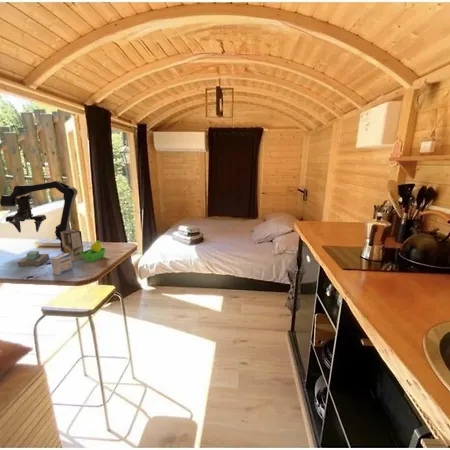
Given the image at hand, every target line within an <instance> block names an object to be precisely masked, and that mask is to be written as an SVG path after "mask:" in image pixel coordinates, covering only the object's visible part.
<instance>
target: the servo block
mask: <svg viewBox="0 0 450 450" xmlns="http://www.w3.org/2000/svg"><path fill="white" fill-rule="evenodd" d="M40 254H41V253H40V251H39V250H30V251H29V252H27V253H26V256H27V259H26V260H34V259H38V258H39V257H40Z"/></svg>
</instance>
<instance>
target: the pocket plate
mask: <svg viewBox="0 0 450 450" xmlns="http://www.w3.org/2000/svg"><path fill="white" fill-rule="evenodd" d="M39 254H40V257H39V258H38V259H34V260H26V259H27V255H26V256H24V257H23V258H21V259H19V260H18V261H17V266H18V267H31V266H41V265H42V264H44V263H45V262H46V261H47V260H49V259H50V254H49V253H39Z"/></svg>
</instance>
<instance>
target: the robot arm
mask: <svg viewBox="0 0 450 450" xmlns="http://www.w3.org/2000/svg"><path fill="white" fill-rule="evenodd" d="M50 189H56V190H57V191H59V193H61V194H63V201H64V202H63V209H62V214H61V219H60V224H58V225H56V226H55V231H54V234H55V236H56V238H57V239H58V240H59V241H60V242H59V245H60V251H62V252H63V245H62V239H61V232H62V231H66V230H70V229H71V228H70V224H69V223H70V218H71V214H72V209H73V203H74V201H75V200H76V198H77V195H78V189H77V188H75V187H74V186H69V185H68V184H66V183H63V182H61V181H59V180H53V181H49V182H43V183H38V184H19V185H15V186H14V187H13V191H12V192H11V194H10V195H8V194H7V195H6V194H2V195H1V197H0V206H1V207H3V208H13V207H14V208H15V207H17V209H16V213H15V214H12V215H8V216H6V217H5V223H9V224H11V225H13V226H14V227H15V229H16V230H17V232H18V233H22V228H21V222H22V223H23V222H25V221H27V220H33V221H34V224H35V231H36V233H38V232H39V230H40V227H41V224H42V223H43V222H44V221H45V220H47V216H46V215H45V214H37V215H35V216H34V214H33V213H32V209H33V207H32V206H31V201H30V200H32V199H34V196H33V195H31V193H33V192H34V193H35V192H38V191H39V192H40V191H43V190H50Z"/></svg>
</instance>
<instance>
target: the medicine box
mask: <svg viewBox="0 0 450 450" xmlns="http://www.w3.org/2000/svg"><path fill="white" fill-rule="evenodd" d="M50 264H51V270H52V272H51V273H52V275H54V274H55V275H56V276H62V275H64V274H66V273H67V271H68V272H69V270H70V271H71V269H72V270H73V263H72V260H71V255H70V254H68V253H64V252H63V253H60V254H58V255H56V256H54V257H51V258H50ZM65 272H66V273H65ZM63 273H64V274H63ZM61 274H62V275H61Z"/></svg>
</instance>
